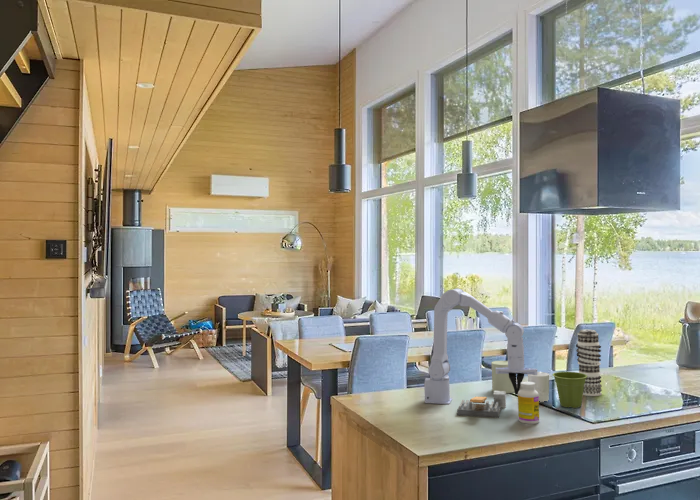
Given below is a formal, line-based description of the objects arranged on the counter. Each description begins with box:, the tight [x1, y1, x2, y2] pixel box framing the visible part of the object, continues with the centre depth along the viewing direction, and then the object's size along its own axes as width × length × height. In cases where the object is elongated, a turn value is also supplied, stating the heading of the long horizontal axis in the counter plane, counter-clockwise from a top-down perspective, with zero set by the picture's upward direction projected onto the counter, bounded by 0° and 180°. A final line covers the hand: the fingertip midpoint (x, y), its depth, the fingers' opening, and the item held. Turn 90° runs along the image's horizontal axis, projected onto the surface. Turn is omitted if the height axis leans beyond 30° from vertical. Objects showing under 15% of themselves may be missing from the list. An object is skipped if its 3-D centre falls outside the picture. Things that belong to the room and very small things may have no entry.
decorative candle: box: [575, 328, 603, 397], centre depth 224 cm, size 9×9×25 cm
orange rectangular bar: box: [469, 396, 488, 404], centre depth 201 cm, size 4×16×2 cm, turn 161°
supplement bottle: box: [517, 381, 540, 425], centre depth 189 cm, size 7×7×13 cm
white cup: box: [527, 371, 550, 403], centre depth 216 cm, size 8×8×10 cm
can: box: [490, 360, 515, 394], centre depth 233 cm, size 9×9×12 cm
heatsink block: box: [456, 399, 502, 419], centre depth 201 cm, size 14×10×4 cm
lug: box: [492, 391, 507, 409], centre depth 207 cm, size 4×5×5 cm
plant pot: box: [552, 371, 587, 409], centre depth 207 cm, size 12×12×11 cm
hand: (517, 394), depth 206 cm, fingers closed
